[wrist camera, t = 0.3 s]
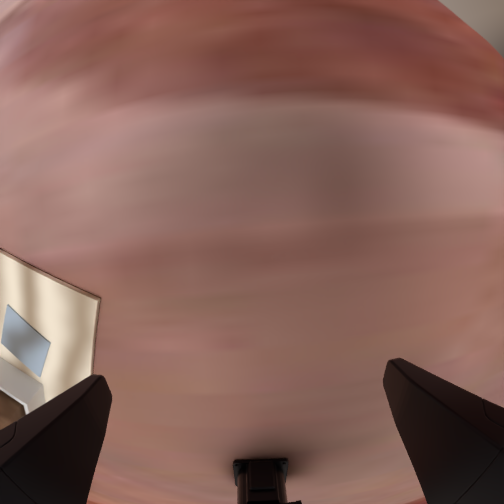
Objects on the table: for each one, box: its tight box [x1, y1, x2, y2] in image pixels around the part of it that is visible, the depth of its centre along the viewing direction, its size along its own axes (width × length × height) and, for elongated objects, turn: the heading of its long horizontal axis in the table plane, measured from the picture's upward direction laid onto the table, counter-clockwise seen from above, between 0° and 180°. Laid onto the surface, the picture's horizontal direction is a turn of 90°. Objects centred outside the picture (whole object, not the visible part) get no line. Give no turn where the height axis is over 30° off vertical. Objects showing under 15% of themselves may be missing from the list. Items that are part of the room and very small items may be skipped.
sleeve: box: [0, 357, 45, 414], centre depth 23 cm, size 7×7×4 cm
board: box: [0, 249, 101, 403], centre depth 25 cm, size 18×28×1 cm, turn 160°
